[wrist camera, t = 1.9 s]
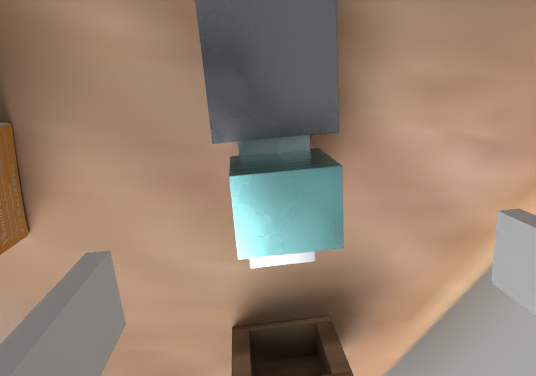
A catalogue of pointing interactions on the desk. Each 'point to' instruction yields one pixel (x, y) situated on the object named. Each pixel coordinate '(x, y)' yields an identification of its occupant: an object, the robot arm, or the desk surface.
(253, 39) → the grey rectangular block
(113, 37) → the desk surface
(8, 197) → the small box
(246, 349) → the socket
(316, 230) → the teal-ended white column
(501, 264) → the robot arm
